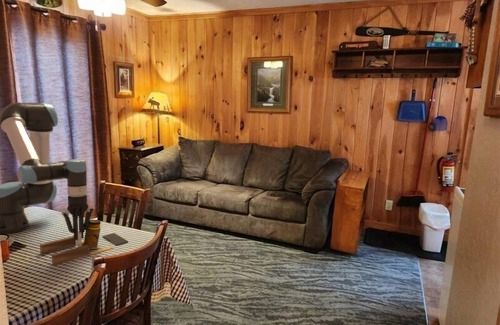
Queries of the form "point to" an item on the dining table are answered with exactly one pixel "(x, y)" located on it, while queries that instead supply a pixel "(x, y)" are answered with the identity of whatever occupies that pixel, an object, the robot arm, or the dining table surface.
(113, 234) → the mat
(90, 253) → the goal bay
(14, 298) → the dining table surface
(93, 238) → the condiment
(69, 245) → the parallel wooden rails
